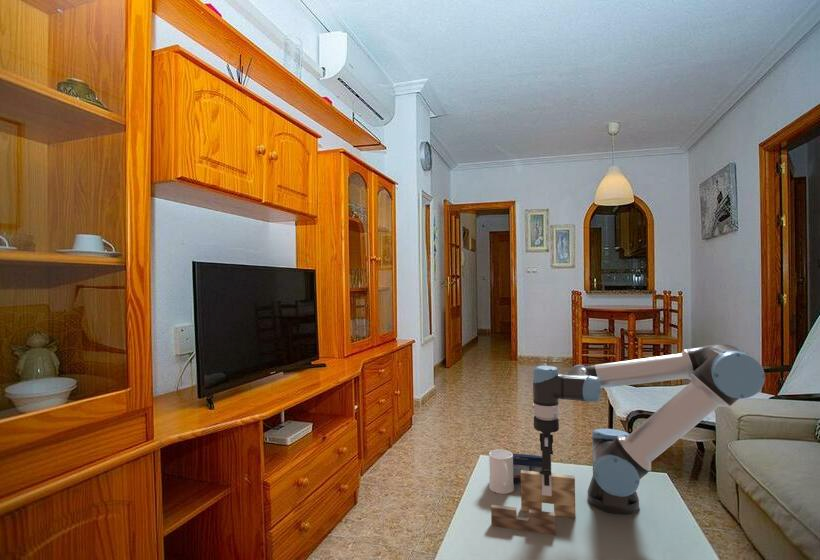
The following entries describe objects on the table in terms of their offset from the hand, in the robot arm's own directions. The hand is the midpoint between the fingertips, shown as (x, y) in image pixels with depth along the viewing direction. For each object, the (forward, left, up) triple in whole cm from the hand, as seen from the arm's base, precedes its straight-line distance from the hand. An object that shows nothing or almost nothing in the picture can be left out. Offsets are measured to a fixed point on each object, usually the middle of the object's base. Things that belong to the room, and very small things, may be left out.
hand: (546, 484), depth 137 cm
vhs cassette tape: (+10, -18, -9) cm, 23 cm away
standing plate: (+7, +11, -9) cm, 16 cm away
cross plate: (0, 0, -9) cm, 9 cm away
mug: (+15, -11, -9) cm, 20 cm away
